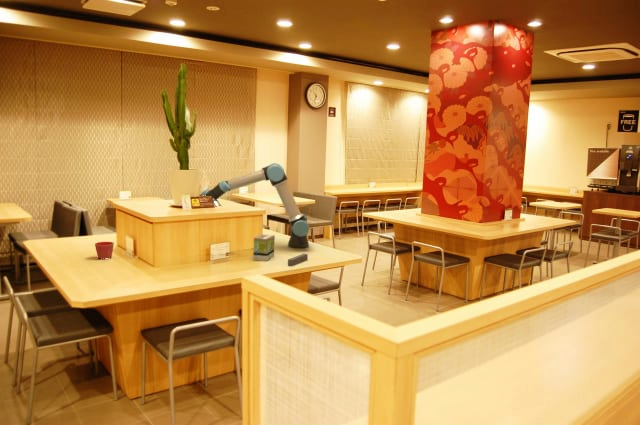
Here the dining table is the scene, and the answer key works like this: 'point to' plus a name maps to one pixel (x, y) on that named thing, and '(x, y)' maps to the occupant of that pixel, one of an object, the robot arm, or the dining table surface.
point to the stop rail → (297, 259)
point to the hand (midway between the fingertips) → (237, 235)
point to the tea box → (264, 247)
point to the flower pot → (104, 249)
